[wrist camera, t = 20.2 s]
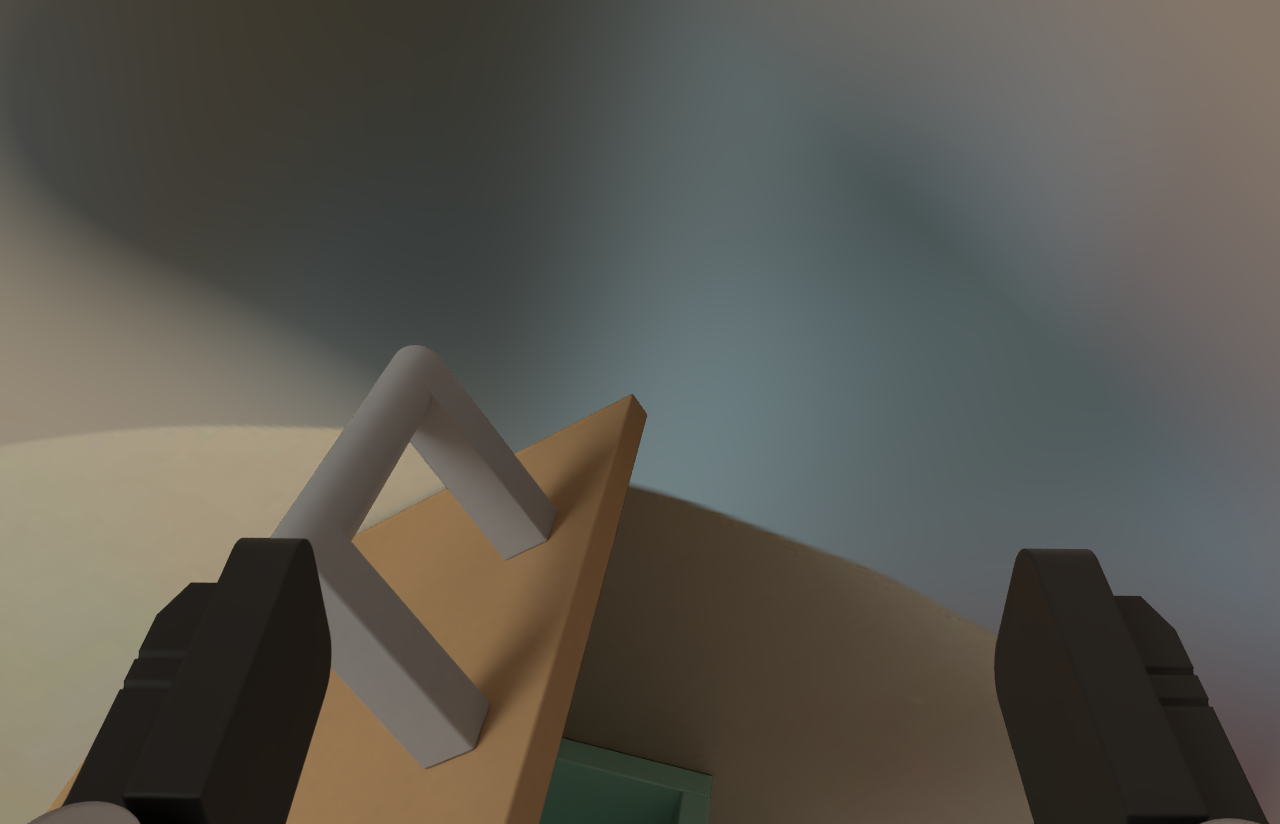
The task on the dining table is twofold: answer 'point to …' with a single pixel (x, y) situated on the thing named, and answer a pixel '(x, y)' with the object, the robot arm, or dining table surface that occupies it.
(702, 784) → the green cabinet
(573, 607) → the wooden cabinet door
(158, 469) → the dining table surface
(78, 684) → the dining table surface
